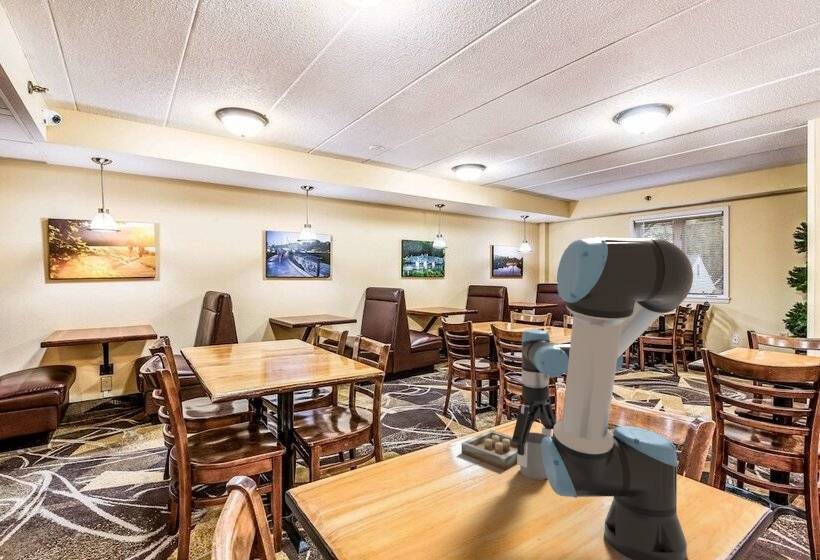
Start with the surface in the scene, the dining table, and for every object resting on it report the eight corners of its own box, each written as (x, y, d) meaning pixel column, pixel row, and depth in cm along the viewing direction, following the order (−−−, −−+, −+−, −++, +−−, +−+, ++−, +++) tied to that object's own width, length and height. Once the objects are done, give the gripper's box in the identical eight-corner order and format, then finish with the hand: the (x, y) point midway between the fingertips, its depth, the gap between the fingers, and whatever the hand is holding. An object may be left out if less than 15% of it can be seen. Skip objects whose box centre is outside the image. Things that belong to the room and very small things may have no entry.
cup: (547, 466, 123) (547, 432, 123) (553, 480, 115) (554, 444, 115) (518, 465, 124) (518, 431, 124) (522, 478, 116) (522, 443, 116)
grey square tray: (504, 469, 121) (504, 455, 121) (461, 453, 133) (461, 439, 133) (532, 453, 132) (532, 440, 132) (490, 439, 144) (490, 427, 144)
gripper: (523, 396, 108) (523, 477, 109) (567, 378, 125) (567, 448, 126) (499, 390, 113) (499, 467, 114) (544, 374, 131) (544, 441, 131)
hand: (534, 457), depth 120 cm, fingers open, 13 cm apart
